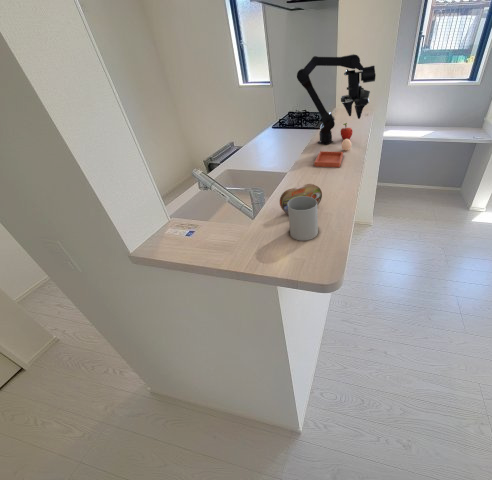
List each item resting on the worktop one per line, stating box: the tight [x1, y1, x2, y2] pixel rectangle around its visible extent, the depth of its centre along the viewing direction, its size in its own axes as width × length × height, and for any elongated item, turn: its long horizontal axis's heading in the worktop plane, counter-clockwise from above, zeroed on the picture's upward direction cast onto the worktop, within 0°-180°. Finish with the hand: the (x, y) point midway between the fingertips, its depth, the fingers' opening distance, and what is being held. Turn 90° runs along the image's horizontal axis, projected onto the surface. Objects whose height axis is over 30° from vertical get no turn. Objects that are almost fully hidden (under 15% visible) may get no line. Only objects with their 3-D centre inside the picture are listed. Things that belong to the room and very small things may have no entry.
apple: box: [339, 122, 354, 141], centre depth 151 cm, size 8×7×10 cm
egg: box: [341, 139, 352, 152], centre depth 138 cm, size 5×5×6 cm
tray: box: [313, 150, 344, 168], centre depth 128 cm, size 15×12×2 cm
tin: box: [279, 183, 323, 215], centre depth 89 cm, size 15×3×8 cm, turn 117°
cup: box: [287, 196, 319, 242], centre depth 78 cm, size 8×8×10 cm
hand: (354, 117), depth 144 cm, fingers open, 9 cm apart
